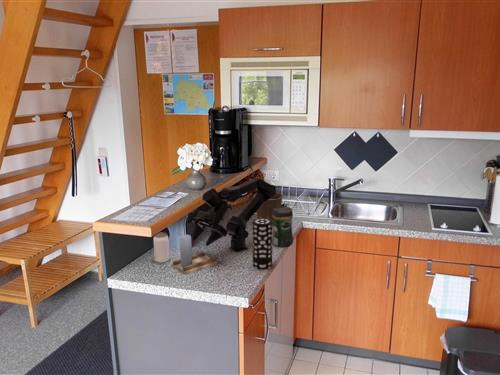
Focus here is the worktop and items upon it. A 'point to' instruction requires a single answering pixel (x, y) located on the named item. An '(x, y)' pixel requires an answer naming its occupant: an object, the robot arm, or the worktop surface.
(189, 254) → the grey translucent cylinder
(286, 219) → the coffee jar
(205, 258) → the track
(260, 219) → the white-spotted black cylinder
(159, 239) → the can
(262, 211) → the plant pot
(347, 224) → the worktop surface
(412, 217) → the worktop surface
